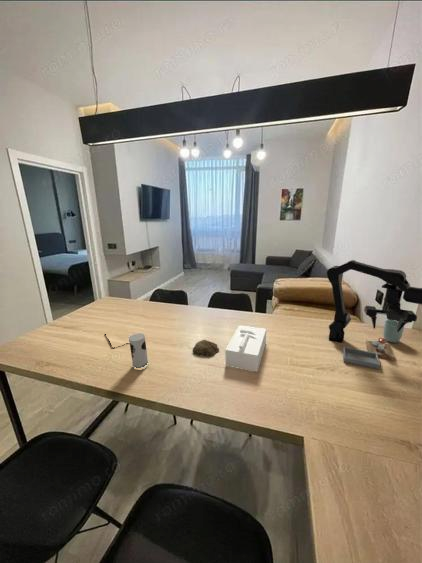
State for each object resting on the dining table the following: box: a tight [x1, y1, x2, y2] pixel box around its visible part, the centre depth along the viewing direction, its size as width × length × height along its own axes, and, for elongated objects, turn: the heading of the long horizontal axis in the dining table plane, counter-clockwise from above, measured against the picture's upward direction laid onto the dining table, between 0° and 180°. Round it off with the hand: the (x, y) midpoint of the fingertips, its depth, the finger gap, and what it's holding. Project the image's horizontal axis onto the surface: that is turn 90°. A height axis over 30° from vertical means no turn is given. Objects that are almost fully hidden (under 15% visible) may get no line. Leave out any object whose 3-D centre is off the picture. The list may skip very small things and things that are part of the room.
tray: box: [342, 346, 381, 371], centre depth 110 cm, size 14×10×2 cm
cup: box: [382, 319, 405, 344], centre depth 124 cm, size 8×8×10 cm
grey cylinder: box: [129, 333, 149, 368], centre depth 109 cm, size 7×7×15 cm
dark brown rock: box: [192, 339, 220, 357], centre depth 122 cm, size 13×12×5 cm
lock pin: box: [376, 337, 388, 353], centre depth 114 cm, size 3×3×8 cm
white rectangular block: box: [225, 324, 267, 373], centre depth 117 cm, size 14×25×11 cm, turn 159°
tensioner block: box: [365, 340, 396, 361], centre depth 117 cm, size 10×12×3 cm
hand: (385, 329), depth 112 cm, fingers open, 9 cm apart
